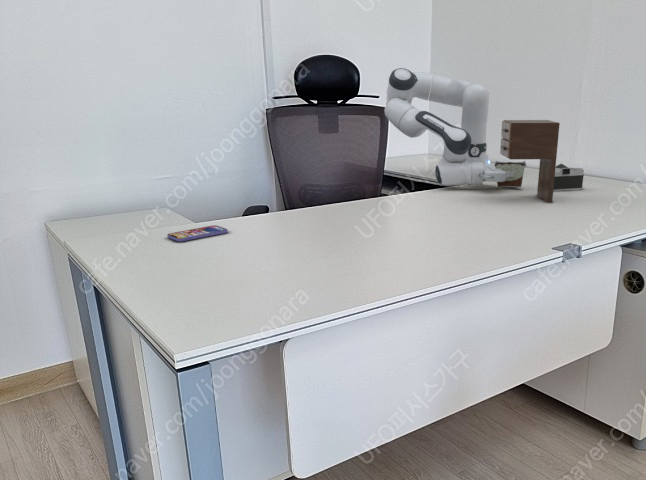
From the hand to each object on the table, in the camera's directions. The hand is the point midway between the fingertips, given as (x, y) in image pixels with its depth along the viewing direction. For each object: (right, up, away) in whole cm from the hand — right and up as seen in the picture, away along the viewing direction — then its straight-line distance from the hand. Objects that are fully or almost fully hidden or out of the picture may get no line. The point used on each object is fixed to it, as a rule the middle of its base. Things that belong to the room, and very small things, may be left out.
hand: (512, 172), depth 233 cm
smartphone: (-100, -32, -68) cm, 125 cm away
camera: (+20, -6, +2) cm, 21 cm away
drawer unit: (+1, -13, -18) cm, 22 cm away
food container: (-1, -5, +2) cm, 6 cm away
